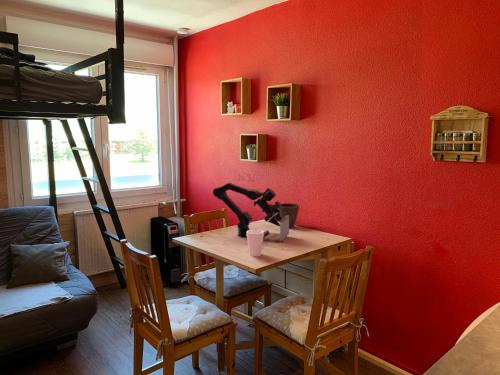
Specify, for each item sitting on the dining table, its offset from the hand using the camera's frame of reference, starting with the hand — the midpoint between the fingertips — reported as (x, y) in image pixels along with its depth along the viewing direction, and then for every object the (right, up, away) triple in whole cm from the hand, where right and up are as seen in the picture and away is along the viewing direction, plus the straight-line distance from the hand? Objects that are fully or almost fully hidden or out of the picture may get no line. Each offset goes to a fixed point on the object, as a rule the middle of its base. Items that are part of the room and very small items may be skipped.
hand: (281, 224), depth 237 cm
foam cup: (-17, -14, -30) cm, 37 cm away
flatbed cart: (-6, -9, +3) cm, 12 cm away
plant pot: (+8, -5, +34) cm, 36 cm away
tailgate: (+1, -8, +1) cm, 8 cm away
